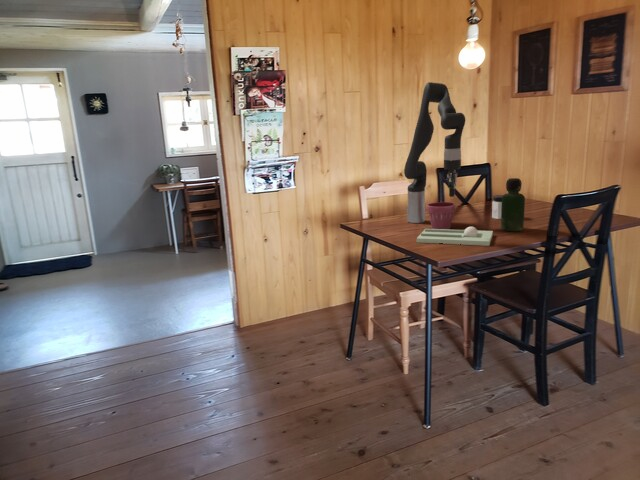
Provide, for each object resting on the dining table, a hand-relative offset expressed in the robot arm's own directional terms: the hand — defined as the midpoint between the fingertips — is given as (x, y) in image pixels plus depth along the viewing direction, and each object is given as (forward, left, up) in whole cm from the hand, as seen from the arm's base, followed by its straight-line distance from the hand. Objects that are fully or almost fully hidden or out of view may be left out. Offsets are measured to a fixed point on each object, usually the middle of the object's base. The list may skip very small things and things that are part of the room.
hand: (451, 196), depth 218 cm
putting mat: (+2, 0, -20) cm, 20 cm away
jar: (+19, +51, -20) cm, 58 cm away
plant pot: (-8, +20, -20) cm, 30 cm away
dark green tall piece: (+26, +23, -20) cm, 40 cm away
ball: (+9, 0, -17) cm, 19 cm away
